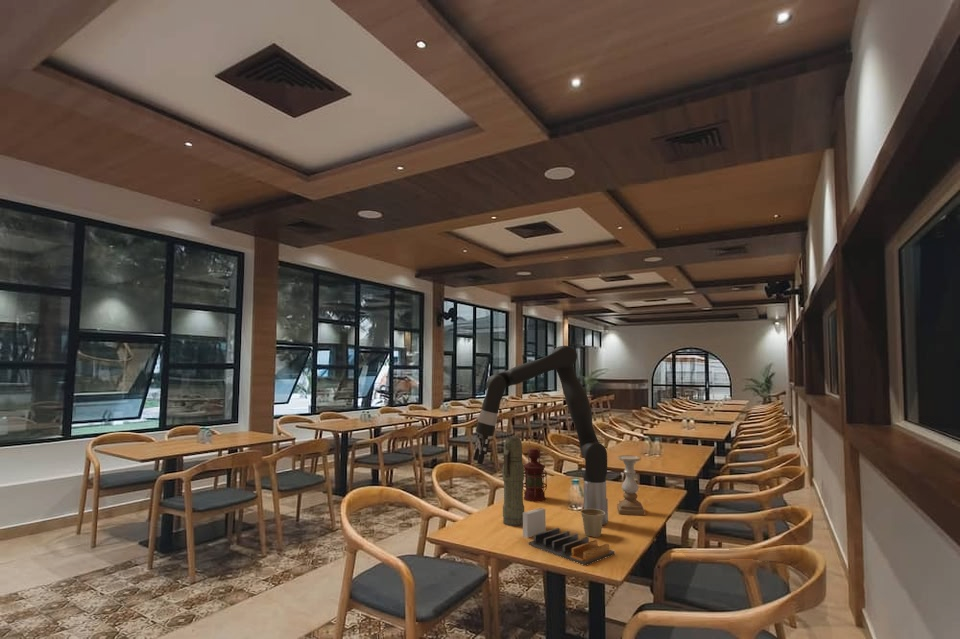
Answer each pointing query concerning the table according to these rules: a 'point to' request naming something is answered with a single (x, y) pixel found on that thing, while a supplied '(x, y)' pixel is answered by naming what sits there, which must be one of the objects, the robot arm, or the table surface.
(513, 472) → the thermos
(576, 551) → the rack
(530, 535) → the panel
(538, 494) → the lantern
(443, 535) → the table surface
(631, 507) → the candle holder
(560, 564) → the table surface
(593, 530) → the flower pot
